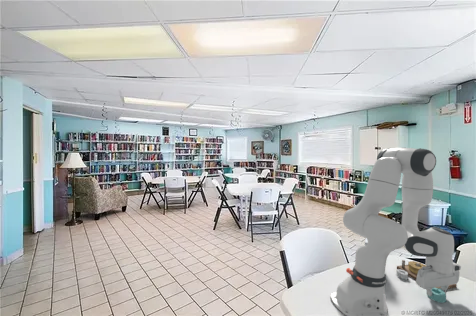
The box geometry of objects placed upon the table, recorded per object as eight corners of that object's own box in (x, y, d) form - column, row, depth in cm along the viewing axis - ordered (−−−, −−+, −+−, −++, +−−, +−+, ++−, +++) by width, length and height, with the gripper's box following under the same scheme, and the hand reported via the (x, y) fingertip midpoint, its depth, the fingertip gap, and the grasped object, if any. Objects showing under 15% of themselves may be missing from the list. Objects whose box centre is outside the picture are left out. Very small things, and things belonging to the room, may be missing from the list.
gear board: (434, 291, 103) (435, 280, 103) (396, 268, 121) (397, 259, 121) (456, 287, 106) (457, 276, 106) (416, 265, 125) (417, 256, 124)
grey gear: (404, 280, 111) (405, 275, 111) (394, 275, 115) (395, 270, 115) (409, 277, 113) (409, 273, 113) (399, 273, 117) (399, 268, 117)
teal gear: (438, 303, 95) (438, 296, 95) (423, 294, 101) (424, 287, 101) (448, 301, 96) (449, 294, 96) (433, 292, 102) (434, 286, 102)
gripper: (428, 271, 92) (425, 302, 93) (463, 266, 97) (461, 295, 98) (413, 263, 98) (410, 292, 99) (447, 258, 103) (445, 286, 104)
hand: (436, 294), depth 99 cm, fingers closed on teal gear, 6 cm apart
